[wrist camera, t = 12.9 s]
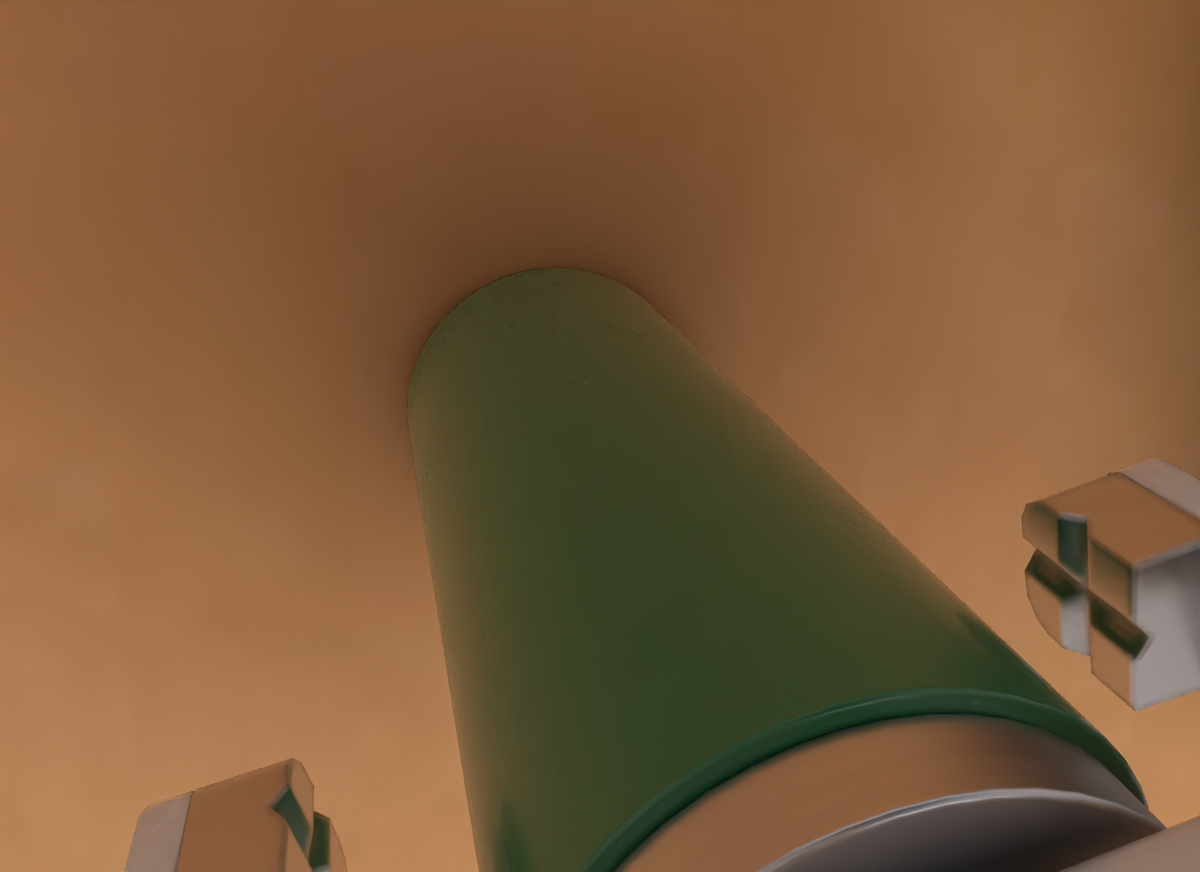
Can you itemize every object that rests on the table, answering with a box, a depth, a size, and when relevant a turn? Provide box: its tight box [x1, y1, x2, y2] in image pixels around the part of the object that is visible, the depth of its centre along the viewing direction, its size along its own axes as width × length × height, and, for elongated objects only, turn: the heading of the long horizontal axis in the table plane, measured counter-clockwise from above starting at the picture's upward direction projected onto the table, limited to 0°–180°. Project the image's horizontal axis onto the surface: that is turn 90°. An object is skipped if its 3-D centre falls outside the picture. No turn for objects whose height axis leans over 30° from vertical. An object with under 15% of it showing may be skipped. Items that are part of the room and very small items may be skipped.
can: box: [407, 268, 1167, 872], centre depth 13 cm, size 5×5×13 cm
